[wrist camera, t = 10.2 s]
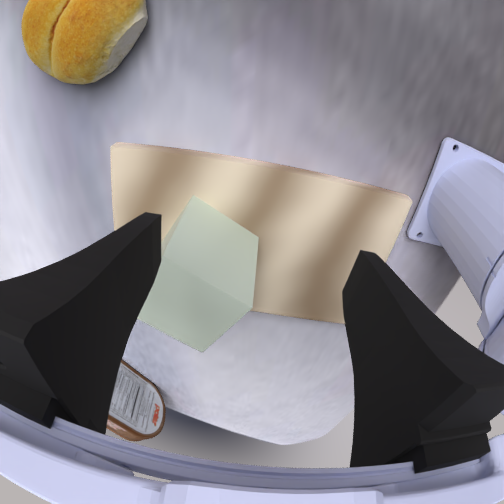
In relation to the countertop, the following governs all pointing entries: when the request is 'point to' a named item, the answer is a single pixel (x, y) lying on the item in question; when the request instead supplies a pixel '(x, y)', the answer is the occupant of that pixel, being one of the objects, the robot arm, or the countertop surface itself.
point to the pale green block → (202, 277)
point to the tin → (135, 406)
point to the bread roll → (81, 36)
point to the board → (267, 218)
